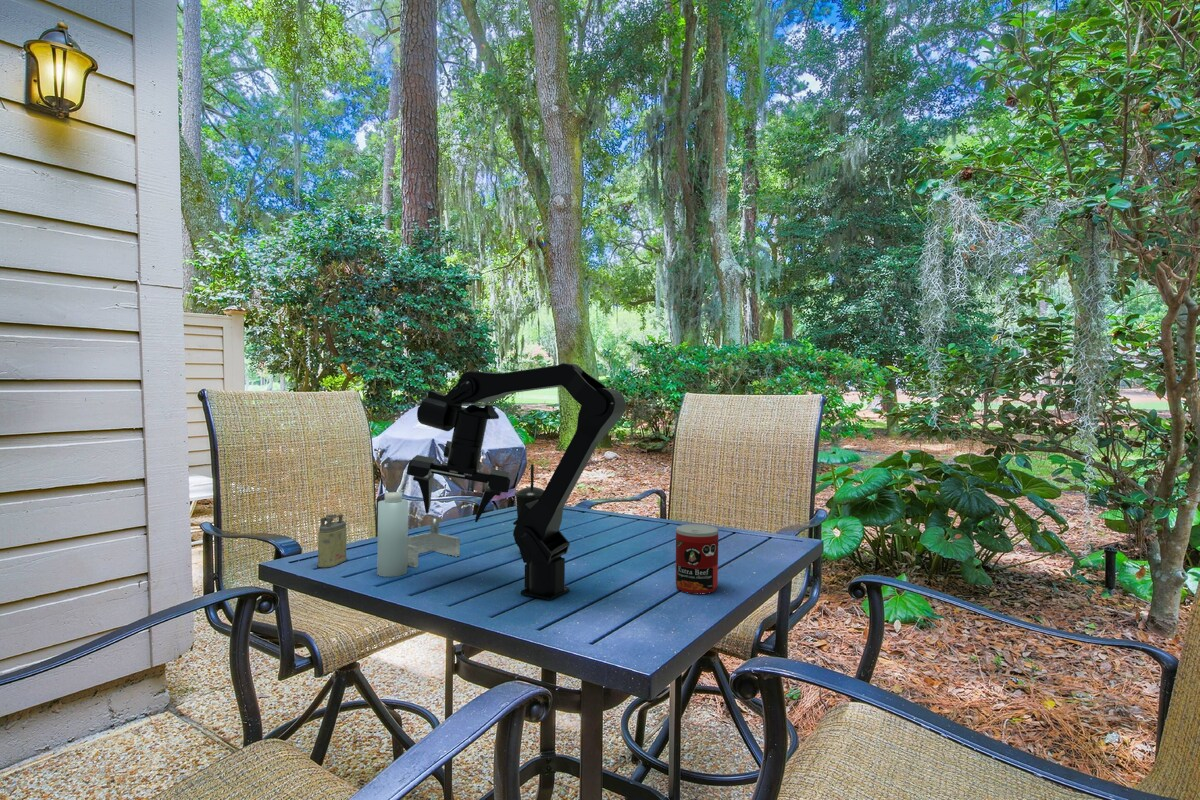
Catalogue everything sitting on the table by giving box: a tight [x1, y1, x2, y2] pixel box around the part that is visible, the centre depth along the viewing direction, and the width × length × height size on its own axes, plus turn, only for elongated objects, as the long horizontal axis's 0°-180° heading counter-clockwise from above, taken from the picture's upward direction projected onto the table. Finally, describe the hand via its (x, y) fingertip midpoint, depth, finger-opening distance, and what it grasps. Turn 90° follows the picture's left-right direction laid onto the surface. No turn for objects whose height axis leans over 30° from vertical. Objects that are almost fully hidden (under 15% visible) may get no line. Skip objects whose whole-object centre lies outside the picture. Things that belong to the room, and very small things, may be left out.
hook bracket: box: [407, 517, 461, 569], centre depth 126 cm, size 10×12×7 cm
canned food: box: [675, 523, 719, 595], centre depth 107 cm, size 8×8×11 cm
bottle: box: [376, 491, 409, 578], centre depth 115 cm, size 6×6×16 cm
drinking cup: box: [514, 463, 545, 555], centre depth 130 cm, size 8×8×20 cm
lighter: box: [317, 513, 348, 568], centre depth 121 cm, size 7×4×10 cm, turn 171°
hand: (451, 517), depth 110 cm, fingers open, 9 cm apart
